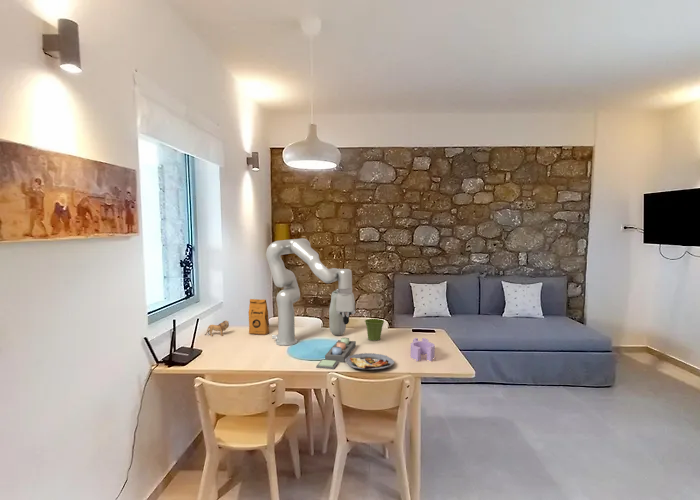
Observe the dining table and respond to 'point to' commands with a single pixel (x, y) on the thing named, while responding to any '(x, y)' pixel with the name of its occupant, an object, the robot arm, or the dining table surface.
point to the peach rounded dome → (342, 345)
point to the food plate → (369, 361)
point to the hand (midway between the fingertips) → (346, 323)
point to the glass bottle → (335, 317)
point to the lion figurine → (218, 328)
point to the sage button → (345, 340)
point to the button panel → (344, 352)
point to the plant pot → (374, 328)
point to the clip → (422, 349)
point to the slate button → (337, 351)
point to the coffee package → (258, 317)
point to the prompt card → (327, 364)
